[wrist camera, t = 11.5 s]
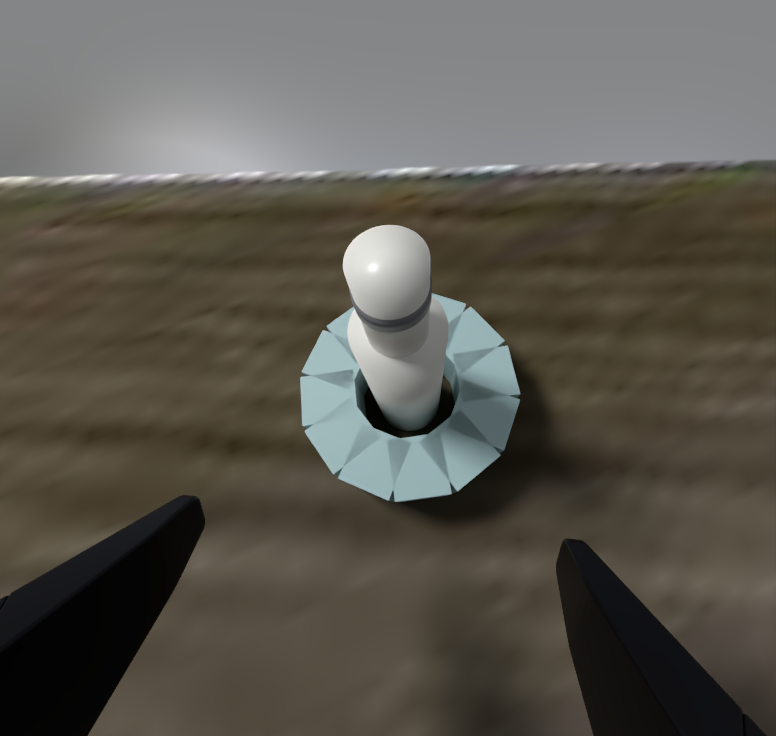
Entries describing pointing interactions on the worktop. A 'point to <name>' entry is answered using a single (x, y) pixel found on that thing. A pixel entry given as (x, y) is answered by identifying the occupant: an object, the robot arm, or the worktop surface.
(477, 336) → the pale blue segmented ring
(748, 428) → the worktop surface
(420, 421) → the white rounded peg
